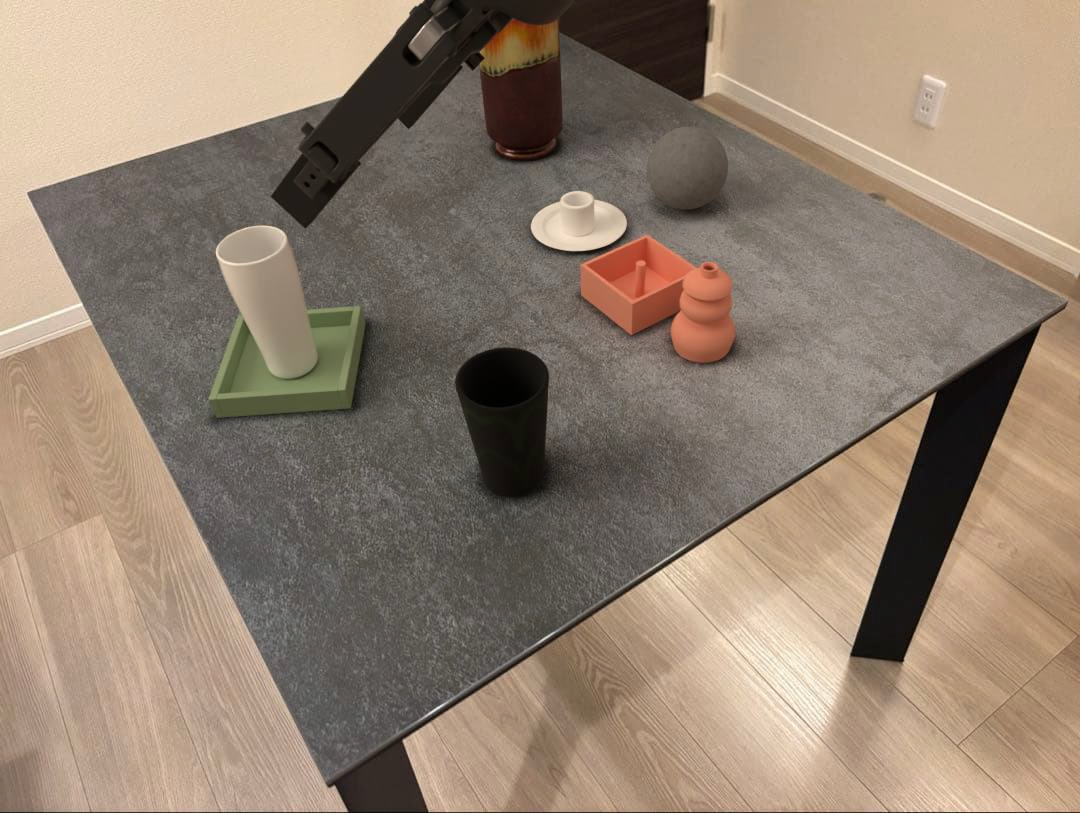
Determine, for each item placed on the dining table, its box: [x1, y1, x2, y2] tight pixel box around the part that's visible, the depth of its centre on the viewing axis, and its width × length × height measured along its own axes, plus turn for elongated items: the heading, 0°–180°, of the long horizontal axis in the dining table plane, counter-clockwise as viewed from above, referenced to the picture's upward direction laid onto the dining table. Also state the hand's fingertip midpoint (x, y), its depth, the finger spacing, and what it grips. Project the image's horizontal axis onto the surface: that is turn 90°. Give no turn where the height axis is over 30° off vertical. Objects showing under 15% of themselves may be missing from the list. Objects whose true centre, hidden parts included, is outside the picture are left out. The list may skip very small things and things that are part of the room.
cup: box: [454, 346, 550, 499], centre depth 71 cm, size 8×8×12 cm
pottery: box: [579, 234, 736, 364], centre depth 87 cm, size 18×10×10 cm, turn 34°
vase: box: [478, 17, 563, 162], centre depth 111 cm, size 11×11×26 cm
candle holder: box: [530, 190, 628, 252], centre depth 103 cm, size 12×12×4 cm
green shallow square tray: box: [207, 305, 367, 419], centre depth 87 cm, size 14×14×3 cm
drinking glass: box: [215, 225, 318, 379], centre depth 82 cm, size 7×7×15 cm
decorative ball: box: [646, 126, 729, 211], centre depth 103 cm, size 10×10×10 cm
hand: (348, 157), depth 55 cm, fingers open, 13 cm apart
